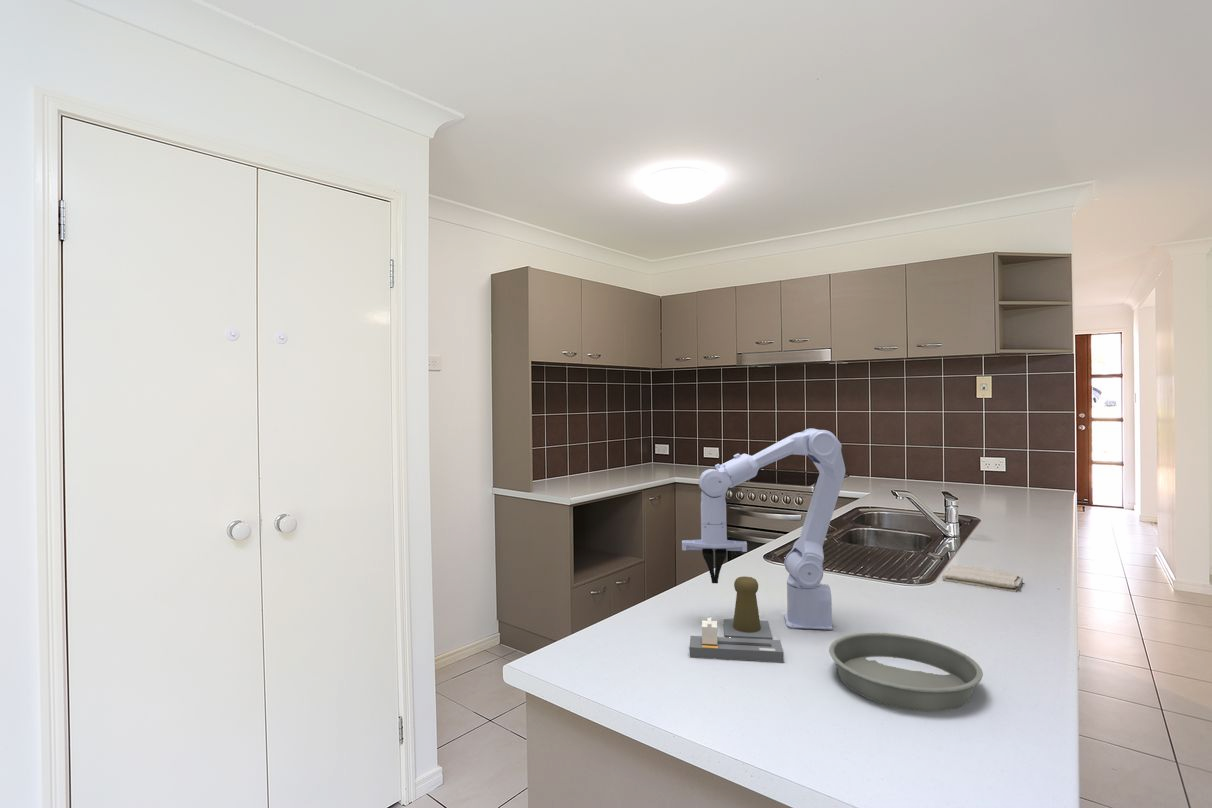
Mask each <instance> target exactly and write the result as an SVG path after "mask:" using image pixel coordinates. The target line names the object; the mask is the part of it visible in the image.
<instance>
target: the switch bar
mask: <svg viewBox="0 0 1212 808" xmlns="http://www.w3.org/2000/svg"><path fill="white" fill-rule="evenodd" d="M784 654H785V652H784V649H783V646H782V642H781V639H773V640H770V639H749V638H729V637H724V636H717V645H714V644H702V635H690V639H689V658H695V659H696V658H699V659H713V658H716V659H715V660H717V659H718V660H731V659H732V660H733V661H734V660H735V661H751V660H752V661H754V662H767V661H770V663H771V662H773V663H785V662H784V659H785V658H784V656H785V655H784ZM732 660H731V661H732ZM752 661H751V662H752Z"/></svg>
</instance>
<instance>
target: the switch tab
mask: <svg viewBox="0 0 1212 808" xmlns="http://www.w3.org/2000/svg"><path fill="white" fill-rule="evenodd" d="M701 636H702V644H714V645H717V637H718V621H717V620H712V617H707V620H701Z"/></svg>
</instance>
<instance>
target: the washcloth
mask: <svg viewBox="0 0 1212 808" xmlns="http://www.w3.org/2000/svg"><path fill="white" fill-rule="evenodd" d="M942 580H943V581H944V582H947V583H948V582H949V583H955V584H961V585H966V586H967V585H968V586H974V587H981V588H987V589H991V590H992V589H993V590H1000V591H1003V592H1004V591H1005V592H1012V593H1016V592H1017V591H1019V589H1020V587H1021V586H1022V584H1023V580H1024V578H1023V577H1021V576H1020V575H1019V574H1017V573H1014V574H1013V573H1008V572H1005V571H1001V570H999V569H995V568H994V569H989V568H982V567H975V566H970V565H969V566H968V565H959V564H954V565H950V566H949V567H948V570H947V571H945V572H944V573H943V574H942Z"/></svg>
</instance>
